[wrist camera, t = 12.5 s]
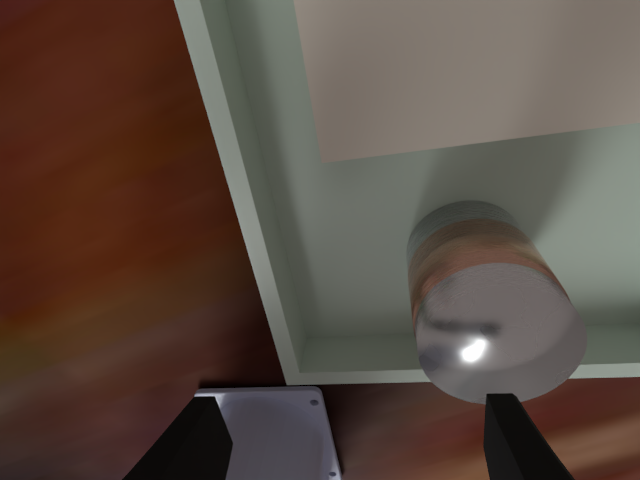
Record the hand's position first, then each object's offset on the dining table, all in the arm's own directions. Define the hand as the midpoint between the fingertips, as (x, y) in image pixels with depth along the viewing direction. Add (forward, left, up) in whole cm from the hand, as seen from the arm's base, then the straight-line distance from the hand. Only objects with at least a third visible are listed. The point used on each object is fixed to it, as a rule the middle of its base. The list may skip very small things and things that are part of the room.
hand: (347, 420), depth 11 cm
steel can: (0, -5, -9) cm, 10 cm away
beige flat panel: (+8, -5, -9) cm, 13 cm away
